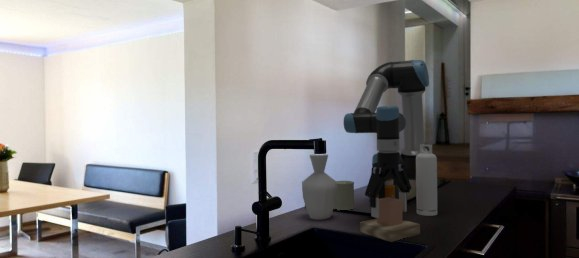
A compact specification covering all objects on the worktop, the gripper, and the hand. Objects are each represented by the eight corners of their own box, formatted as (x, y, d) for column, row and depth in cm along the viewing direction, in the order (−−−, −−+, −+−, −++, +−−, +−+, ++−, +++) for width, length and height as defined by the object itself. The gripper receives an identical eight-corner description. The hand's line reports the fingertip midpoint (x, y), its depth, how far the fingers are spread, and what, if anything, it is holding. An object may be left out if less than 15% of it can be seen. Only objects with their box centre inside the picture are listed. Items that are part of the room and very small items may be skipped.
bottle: (438, 211, 162) (437, 144, 162) (436, 216, 155) (435, 145, 155) (417, 210, 166) (416, 144, 165) (415, 214, 159) (414, 145, 158)
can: (345, 211, 166) (344, 183, 166) (329, 208, 173) (328, 181, 173) (358, 208, 172) (358, 180, 172) (342, 205, 179) (342, 178, 179)
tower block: (376, 222, 135) (376, 199, 135) (388, 219, 138) (388, 197, 138) (390, 226, 130) (390, 202, 130) (402, 223, 133) (402, 199, 133)
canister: (396, 215, 157) (395, 166, 157) (394, 222, 147) (393, 169, 147) (373, 214, 160) (372, 165, 160) (369, 221, 150) (368, 168, 150)
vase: (318, 211, 168) (317, 152, 167) (345, 216, 158) (344, 154, 157) (294, 217, 158) (293, 155, 157) (321, 223, 148) (320, 157, 147)
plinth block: (359, 233, 136) (359, 222, 136) (388, 226, 144) (388, 216, 144) (391, 243, 124) (391, 231, 124) (420, 235, 132) (420, 224, 132)
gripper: (369, 155, 123) (371, 222, 124) (421, 149, 137) (422, 210, 138) (353, 153, 130) (354, 217, 130) (404, 148, 143) (405, 206, 144)
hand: (389, 214), depth 134 cm, fingers open, 13 cm apart
